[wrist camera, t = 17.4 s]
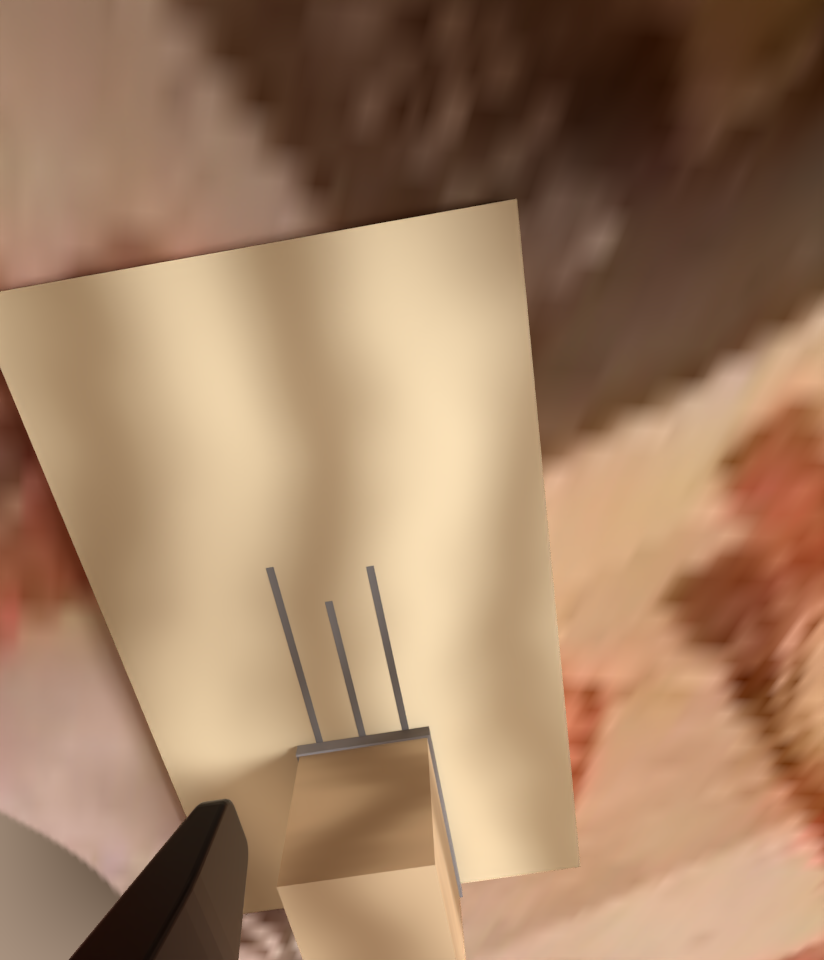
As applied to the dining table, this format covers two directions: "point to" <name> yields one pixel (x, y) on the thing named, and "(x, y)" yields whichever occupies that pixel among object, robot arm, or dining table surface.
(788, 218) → the dining table surface
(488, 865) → the board
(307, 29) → the dining table surface
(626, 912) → the dining table surface
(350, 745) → the block
